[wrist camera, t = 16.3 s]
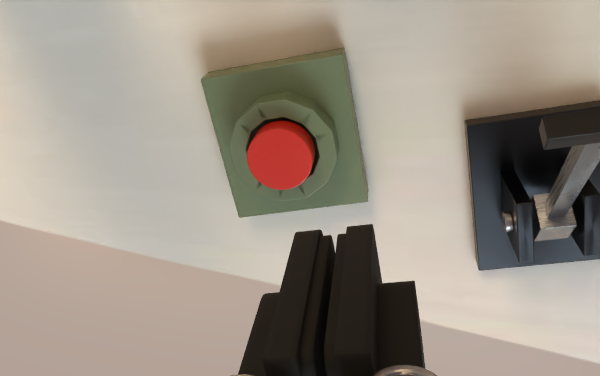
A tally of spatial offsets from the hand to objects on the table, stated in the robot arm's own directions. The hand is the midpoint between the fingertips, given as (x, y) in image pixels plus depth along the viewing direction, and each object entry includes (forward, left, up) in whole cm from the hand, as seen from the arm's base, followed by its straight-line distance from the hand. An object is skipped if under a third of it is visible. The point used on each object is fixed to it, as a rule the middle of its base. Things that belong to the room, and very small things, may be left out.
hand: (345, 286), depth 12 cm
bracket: (+13, +10, -29) cm, 33 cm away
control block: (+6, -7, -29) cm, 30 cm away
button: (+6, -7, -25) cm, 27 cm away
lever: (+8, +10, -21) cm, 25 cm away
